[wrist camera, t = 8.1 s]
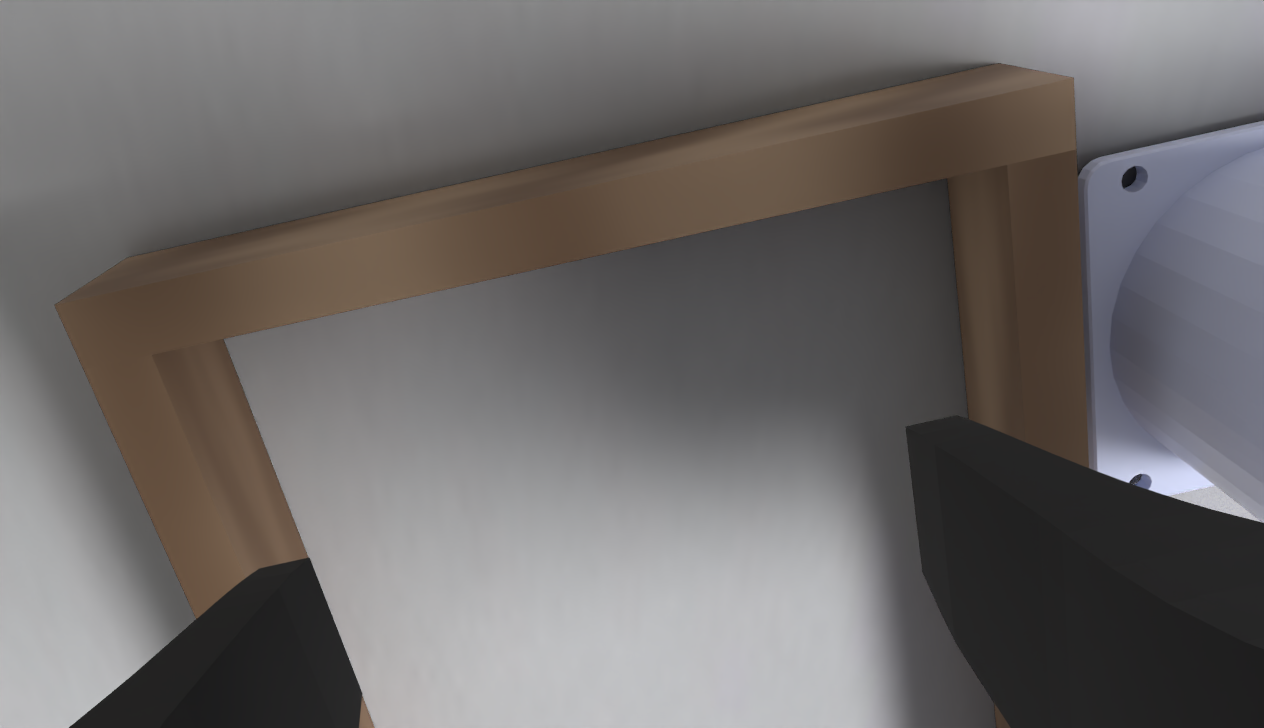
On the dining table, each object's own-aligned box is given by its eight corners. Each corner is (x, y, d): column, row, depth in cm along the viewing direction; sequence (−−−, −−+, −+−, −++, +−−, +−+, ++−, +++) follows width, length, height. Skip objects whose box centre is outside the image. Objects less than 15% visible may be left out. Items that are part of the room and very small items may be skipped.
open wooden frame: (999, 63, 19) (1073, 78, 16) (1046, 772, 26) (1105, 867, 23) (126, 257, 19) (54, 304, 17) (397, 910, 26) (378, 1022, 23)
